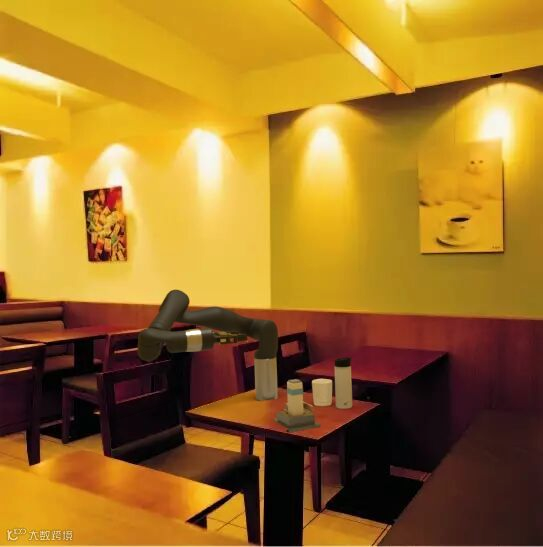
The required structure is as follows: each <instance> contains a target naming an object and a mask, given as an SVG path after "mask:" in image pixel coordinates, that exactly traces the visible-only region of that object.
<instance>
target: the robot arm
mask: <svg viewBox="0 0 543 547" xmlns="http://www.w3.org/2000/svg"><path fill="white" fill-rule="evenodd" d="M189 306H190V298H189V295H188V294H187V293H185V292H184V291H183V290H180V289H171V290H170V291H168V293H166V295H165V297H164V299H163V301H162V302H161V304H160V306H159V308H158V313H157V315H156V316H155V317H154V319H152V321H151V323H150V324H149V325H148V327H147V328H144V329H142V330H140V332H139V333H138V337H137V340H138V341H137V355H138V357H139V358H140V359H141V360H142V361H146V362H152V361H155V360H156V359H157V358H158V357H159V356H160V355H161V352H162V350H163V347H164V343H165V346H166V350H167V351H168V352H169V353H171V354H174V353H176V354H177V353H183V352H184V353H185V352H190V353H192V352H193V353H194V352H203V351H212V350H213V349H214V347H215V344H217V345H228V344H229V345H230V344H238V342H245V341H248V338H250V339H253V340H256V341H258V349H256V350H255V351H254V352H253V360H254V361H253V362H254V386H255V387H254V388H255V400H256V401H262V402H263V401H270V400H277V399H278V374H277V373H278V371H277V352H278V350H279V349H278V348H279V345H278V344H279V329H278V326H277V324H276V322H275V321H273V320H271V319H265V318H252V317H246V316H244V315H241V314H239V313H237V312H235V311H233V310H231V309H227V308H224V307H220V306H209V307H205V308H201V309H198V310H197V309H196V310H190V309H189V310H188V308H189ZM175 323H178V324H185V325H193V326H199V327H202V328H193V329H187V330H177V331H171V330H172V327H173V326H174V324H175Z"/></svg>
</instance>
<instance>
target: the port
mask: <svg viewBox="0 0 543 547" xmlns="http://www.w3.org/2000/svg"><path fill="white" fill-rule="evenodd" d="M275 415H276V418H272V419H271V420H272V421H274V422H275V423H277V424H278V425H280V426H282V427H283V428H285V429H286V430H285V431H286V432H287V433H294V432H295V433H296V432H300V431H306V430H307V431H308V430H311V429H317V428H321V423H319V422H317V421H316V419H315V416H316V415H315V413H313V412H308V411H306V410H304V409H303V415H297V416H290V415H288V410H281V411H280V410H279V411H276V414H275Z"/></svg>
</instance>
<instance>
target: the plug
mask: <svg viewBox="0 0 543 547" xmlns="http://www.w3.org/2000/svg"><path fill="white" fill-rule="evenodd" d="M286 385H287V387H286V394H287V403H288V415H290V416H297V415H303V401H304V397H303V396H304V388H303V387H304V386H303V382H302V381H301V379H298V378H295V379H288V381H287V382H286Z"/></svg>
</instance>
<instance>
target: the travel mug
mask: <svg viewBox="0 0 543 547" xmlns="http://www.w3.org/2000/svg"><path fill="white" fill-rule="evenodd" d="M351 362H352V357H351V356H349V357H347V356H346V357H339V358H336V359H334V386H335V387H334V388H335V389H334V390H335V394H334V395H335V408H337V409H339V410H340V409H341V410H346V409H348V410H349V409H352V408H353V390H352V389H353V388H352V386H353V385H352V363H351Z"/></svg>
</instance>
